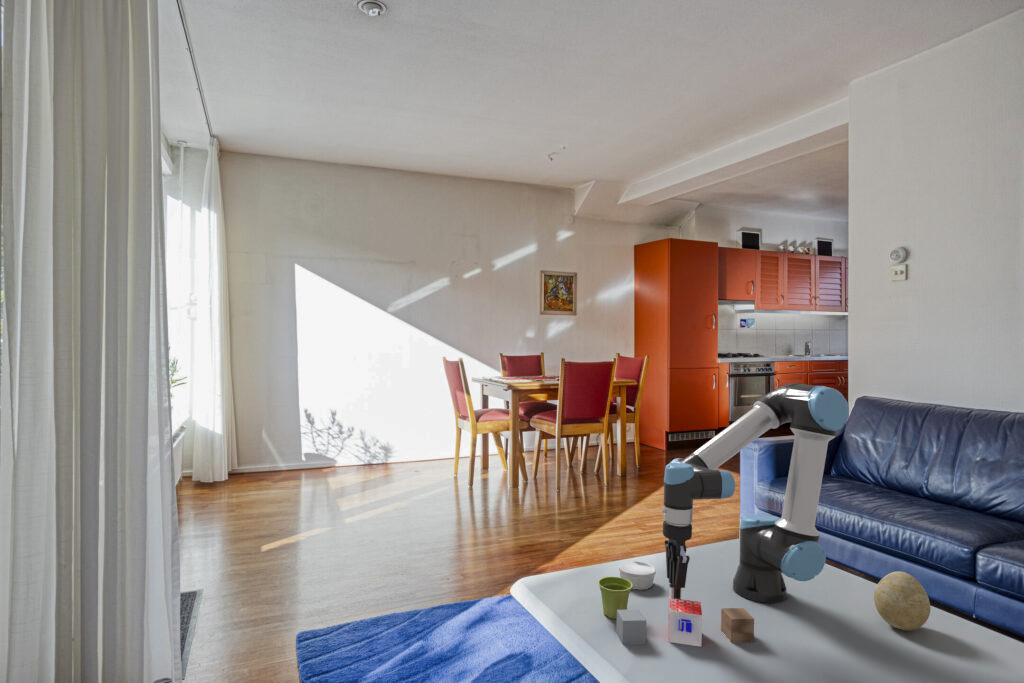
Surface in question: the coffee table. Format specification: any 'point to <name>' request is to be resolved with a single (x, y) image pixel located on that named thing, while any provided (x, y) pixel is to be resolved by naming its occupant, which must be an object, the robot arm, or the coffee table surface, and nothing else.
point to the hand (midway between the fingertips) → (674, 609)
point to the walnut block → (737, 624)
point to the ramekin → (637, 574)
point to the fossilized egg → (902, 601)
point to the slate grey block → (631, 627)
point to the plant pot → (614, 594)
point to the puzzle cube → (685, 622)
